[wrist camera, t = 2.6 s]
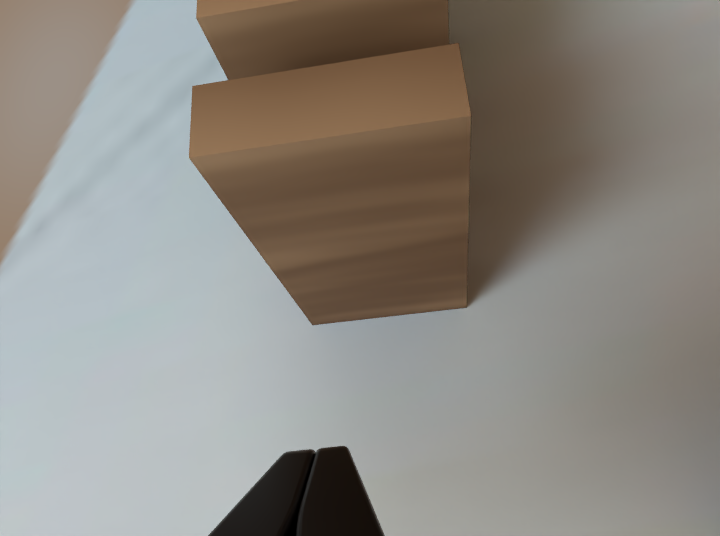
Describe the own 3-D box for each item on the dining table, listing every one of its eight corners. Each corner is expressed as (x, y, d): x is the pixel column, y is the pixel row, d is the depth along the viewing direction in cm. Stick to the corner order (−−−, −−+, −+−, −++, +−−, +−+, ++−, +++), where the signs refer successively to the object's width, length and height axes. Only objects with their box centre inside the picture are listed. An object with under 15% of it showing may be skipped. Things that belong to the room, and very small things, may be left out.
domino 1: (453, 216, 21) (447, -26, 12) (308, 234, 21) (196, 18, 12) (447, 175, 21) (437, -84, 12) (307, 194, 22) (199, -40, 13)
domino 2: (466, 307, 20) (471, 116, 10) (312, 325, 20) (188, 158, 11) (459, 261, 20) (458, 43, 11) (311, 279, 21) (192, 86, 12)
